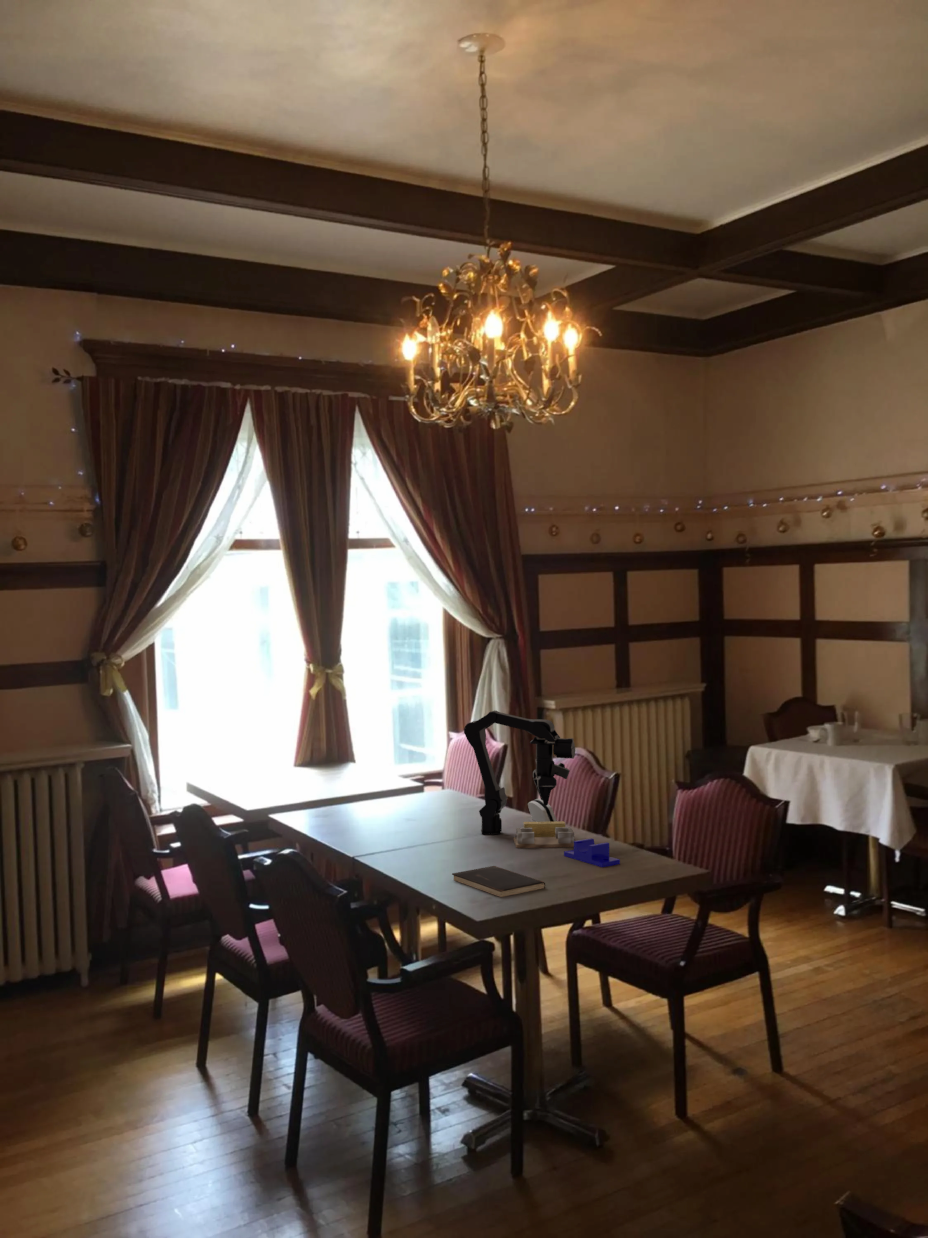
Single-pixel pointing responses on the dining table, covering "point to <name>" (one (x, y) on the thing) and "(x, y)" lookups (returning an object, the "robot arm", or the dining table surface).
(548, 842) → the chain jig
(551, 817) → the grey curved slab
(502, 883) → the hardcover book
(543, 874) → the dining table surface
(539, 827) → the brass link
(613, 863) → the mounting bracket
